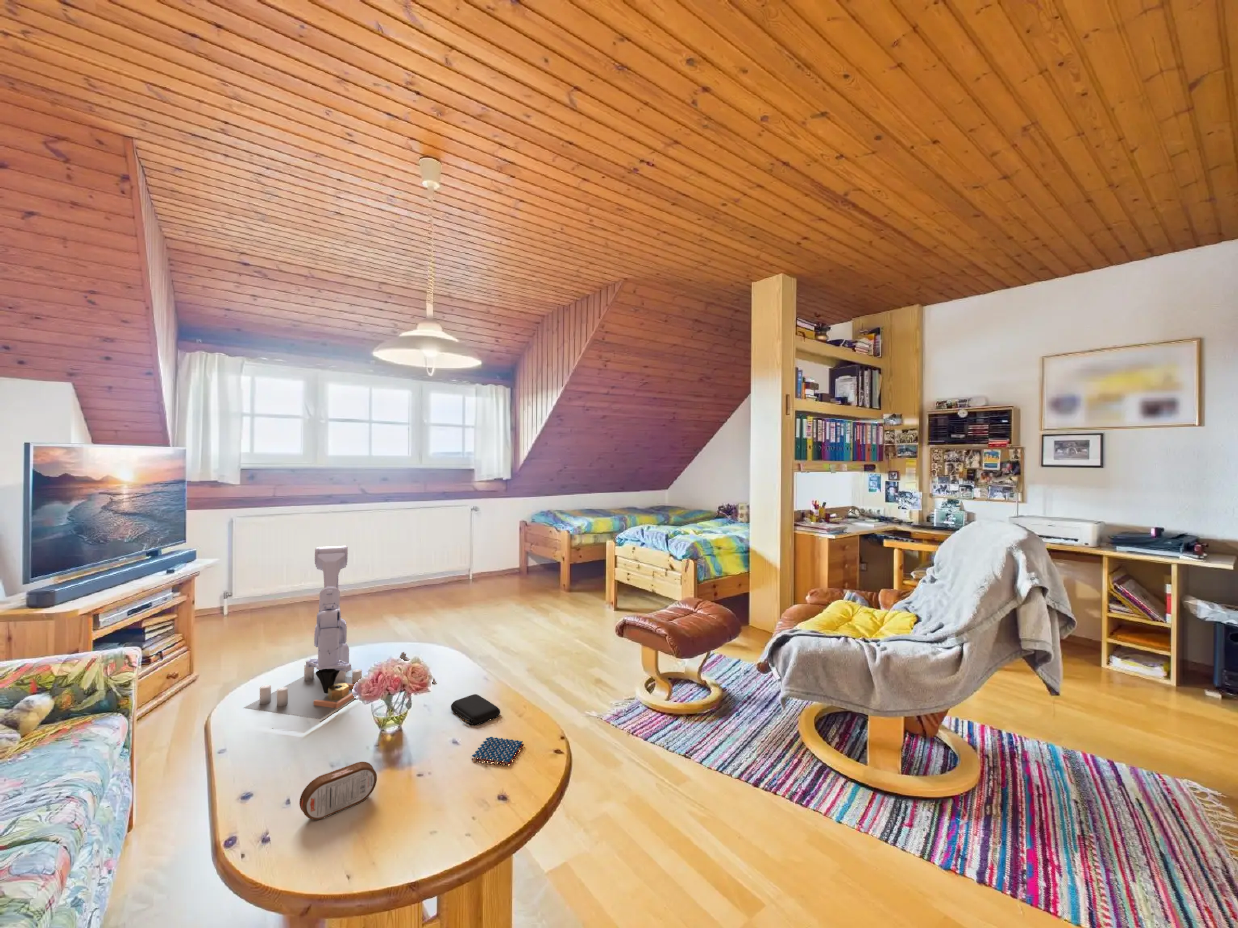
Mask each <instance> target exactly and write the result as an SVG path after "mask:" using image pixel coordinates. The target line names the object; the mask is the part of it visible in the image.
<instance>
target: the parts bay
mask: <svg viewBox="0 0 1238 928" xmlns="http://www.w3.org/2000/svg"><path fill="white" fill-rule="evenodd" d="M346 684H347V685H349V689H353V686H354V684H351V683H346ZM350 699H351V700H352V699H355V697H354V696H353V694H352V693H350V694H349V695H347V696H346V697H344V698H342V699H341V700H339V701H338V702H331V701H324V700H314V705H317V706H325V707H332V708H337V709H339V708H341V707H342V705H345V704H347V703H348V702H349V701H351V700H350ZM347 701H348V702H347ZM344 703H345V704H344Z"/></svg>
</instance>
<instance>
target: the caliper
mask: <svg viewBox="0 0 1238 928" xmlns="http://www.w3.org/2000/svg"><path fill="white" fill-rule="evenodd" d="M399 658H401V659H403V660H404V661H409V660H411V659H410V658H409V657H408V656H407V653H406V652H405V651H403V652H401V654H400V655H399ZM436 682H437V681H436V680H435V677H433V683H434V685H436V684H437V683H436ZM433 683H432V684H433ZM435 683H436V684H435Z"/></svg>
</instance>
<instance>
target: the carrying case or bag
mask: <svg viewBox="0 0 1238 928" xmlns="http://www.w3.org/2000/svg"><path fill="white" fill-rule="evenodd" d="M450 709H451V711H452V712H454V713H456V714H457V715H458V716H460V717H461V719H462V722H465V723H468V724H471V725H474V726H478V725H481V724H483V723H484V724H485V722H489V721H491V720H493V718H494V719H496V718H498V717H499V716H500V715H501V709H500V708H499V707H498V706H496V705H495V704H493V703H492V702H490V701H489V700H487V699H485V698H484V697H482V696H481V695H479V694H476V693H474V694H470V695H468V696H465V697H461V698H460V699H459V698H458V699H456V700H454V701H453V702H452V703H451V705H450ZM490 719H491V720H490ZM488 720H489V721H488Z"/></svg>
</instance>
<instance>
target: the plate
mask: <svg viewBox="0 0 1238 928" xmlns="http://www.w3.org/2000/svg"><path fill="white" fill-rule="evenodd" d="M346 673H347V672H344V671H339V673H338V675H337V677H336V679H335V682H334V684H339V683H351V684H355V683H356V682H358V680H359V679H361V678H362V679H363V670H362V669H360V668H359V669H353V670H352V672H351V673H352V674H351V677H350V676H346ZM350 693H352V689H349V694H350ZM314 700H324V701H331V700H330V699H329V698H328V693H324V691H323V687H322V684H321V682H320V680H319V678H318V677H317V675H316V672H315V667H309V668H308V667H306V664H305V665H304V668H303V676H302V677H300V678H299V679H296V680H294V681H292V682H290V683H288V684H287V685H285V686H282V687H280V688H277V689H276V690H274V692H272V685H270V684H267V685H266V684H265V685H262V686H260V688H259V699H257V700H256V701H254V702H251V703H250V704H248V705H246V706H244V707H243V709H248V710H255V711H263V712H269V713H277V714H283V715H288V716H289V715H291V716H297V717H303V718H309V719H310V718H311V719H317V720H320V721H319V723H321V722H323V721H325V720H326V719H328V718H329V717H330V716H333V715H334V714H335V713H337V712H338V711H340V710H341V709H343V708H345V707H346V706H348V705H349V704H351V703H352V702H354V701H355V700H356V698H353V700H352V699H350V700H349V701H350V702H349V701H347V702H346V703H344V704H343V705H344V706H341V707H339V708H332V707H325V706H317V705H314ZM338 701H339V700H333V701H331V702H338ZM337 709H338V710H337ZM335 710H336V711H335ZM334 711H335V712H334ZM332 712H333V713H332ZM330 713H331V714H330ZM329 714H330V715H329ZM327 715H328V716H327ZM326 716H327V717H326ZM324 717H325V718H324ZM322 718H324V719H322ZM321 719H322V720H321Z"/></svg>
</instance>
